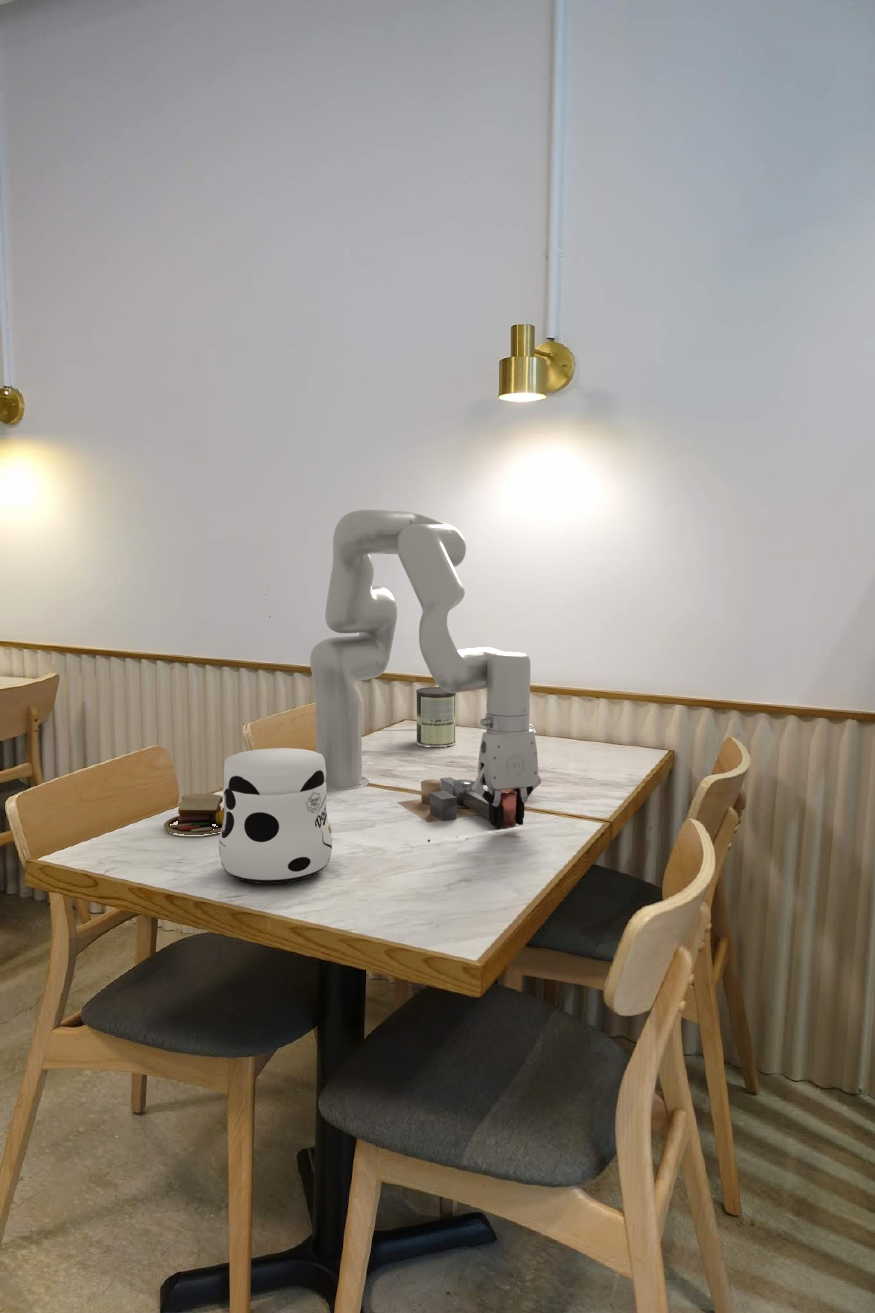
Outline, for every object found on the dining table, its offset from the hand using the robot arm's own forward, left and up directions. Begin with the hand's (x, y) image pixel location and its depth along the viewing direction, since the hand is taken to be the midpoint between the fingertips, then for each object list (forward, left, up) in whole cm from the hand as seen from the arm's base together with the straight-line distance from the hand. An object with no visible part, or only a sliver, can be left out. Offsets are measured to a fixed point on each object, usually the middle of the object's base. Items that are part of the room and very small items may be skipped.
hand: (506, 823), depth 159 cm
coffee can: (+21, +71, -2) cm, 74 cm away
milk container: (-42, -1, -2) cm, 42 cm away
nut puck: (-5, +20, -1) cm, 21 cm away
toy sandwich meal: (-48, +27, -2) cm, 56 cm away
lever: (0, +11, 0) cm, 11 cm away
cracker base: (-3, +16, -2) cm, 16 cm away
